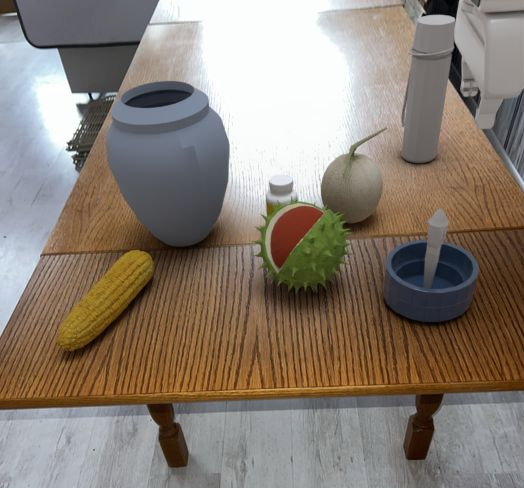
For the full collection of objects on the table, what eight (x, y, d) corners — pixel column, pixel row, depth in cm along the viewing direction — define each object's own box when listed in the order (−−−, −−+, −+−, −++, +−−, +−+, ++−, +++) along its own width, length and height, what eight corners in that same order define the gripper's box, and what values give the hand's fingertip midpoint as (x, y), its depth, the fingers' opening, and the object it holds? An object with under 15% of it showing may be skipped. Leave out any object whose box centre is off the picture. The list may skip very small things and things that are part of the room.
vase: (212, 275, 89) (187, 124, 72) (110, 258, 95) (64, 115, 78) (255, 214, 102) (242, 74, 85) (163, 202, 108) (133, 69, 91)
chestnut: (310, 286, 71) (222, 231, 76) (315, 330, 84) (240, 280, 89) (377, 203, 74) (289, 155, 79) (373, 257, 87) (297, 213, 92)
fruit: (311, 232, 96) (310, 149, 86) (330, 200, 104) (331, 120, 93) (370, 240, 93) (376, 155, 83) (385, 207, 101) (393, 125, 90)
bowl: (430, 263, 87) (435, 230, 83) (489, 305, 79) (499, 271, 75) (365, 290, 84) (367, 257, 79) (420, 338, 75) (426, 304, 71)
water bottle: (445, 157, 113) (468, 18, 96) (417, 169, 110) (436, 28, 93) (412, 143, 119) (428, 10, 101) (385, 154, 116) (397, 19, 98)
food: (133, 271, 92) (125, 241, 87) (162, 277, 90) (155, 246, 86) (54, 356, 78) (39, 324, 74) (86, 365, 76) (73, 333, 72)
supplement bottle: (296, 240, 95) (294, 187, 88) (265, 238, 96) (261, 187, 89) (300, 223, 99) (299, 172, 92) (270, 222, 100) (267, 171, 93)
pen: (421, 285, 82) (434, 200, 72) (438, 291, 81) (454, 205, 71) (414, 295, 81) (427, 209, 71) (432, 300, 80) (447, 214, 70)
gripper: (451, -48, 63) (435, 79, 72) (487, -4, 48) (461, 149, 58) (509, -54, 62) (485, 76, 72) (564, -10, 47) (524, 146, 57)
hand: (475, 109), depth 65 cm, fingers open, 8 cm apart
